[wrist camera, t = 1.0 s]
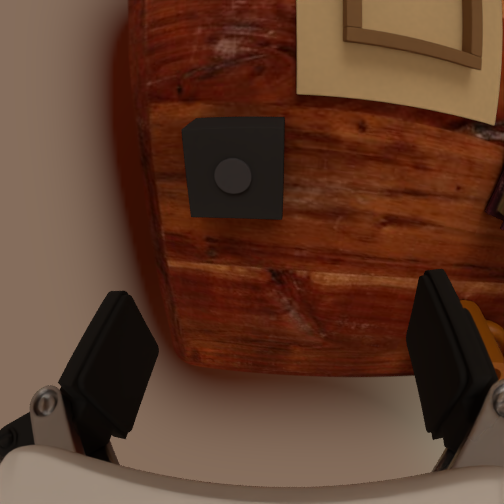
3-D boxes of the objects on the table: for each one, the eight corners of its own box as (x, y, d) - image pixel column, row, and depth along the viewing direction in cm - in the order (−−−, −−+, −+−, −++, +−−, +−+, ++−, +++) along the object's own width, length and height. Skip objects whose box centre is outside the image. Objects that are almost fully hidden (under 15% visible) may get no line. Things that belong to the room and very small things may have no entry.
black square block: (202, 195, 25) (189, 219, 22) (195, 118, 22) (179, 130, 19) (283, 197, 25) (282, 222, 22) (284, 117, 21) (284, 129, 18)
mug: (477, 349, 33) (497, 403, 26) (404, 351, 34) (418, 415, 27) (509, 299, 28) (539, 357, 21) (432, 297, 29) (459, 366, 22)
